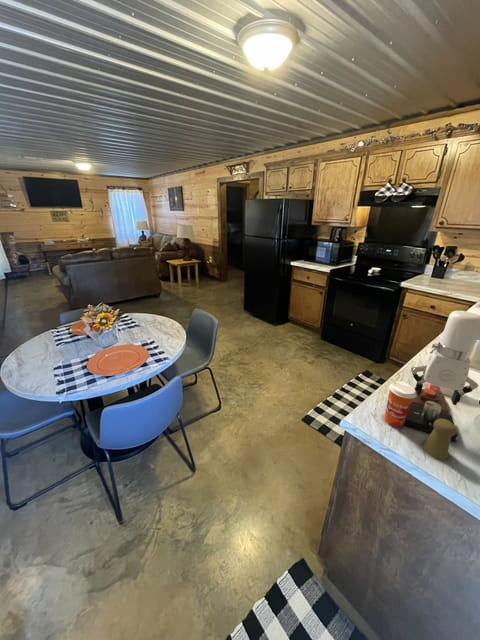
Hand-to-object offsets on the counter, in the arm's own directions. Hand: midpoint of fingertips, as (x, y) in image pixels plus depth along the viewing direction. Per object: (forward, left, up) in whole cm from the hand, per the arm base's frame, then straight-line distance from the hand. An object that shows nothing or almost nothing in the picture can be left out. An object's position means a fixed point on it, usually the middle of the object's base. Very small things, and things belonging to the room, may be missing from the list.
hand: (435, 397), depth 85 cm
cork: (-1, +12, -11) cm, 16 cm away
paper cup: (+10, +4, -11) cm, 15 cm away
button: (-1, -13, -7) cm, 15 cm away
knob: (0, 0, -8) cm, 8 cm away
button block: (-1, -13, -11) cm, 17 cm away
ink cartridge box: (-7, -25, -11) cm, 29 cm away
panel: (0, 0, -11) cm, 11 cm away
